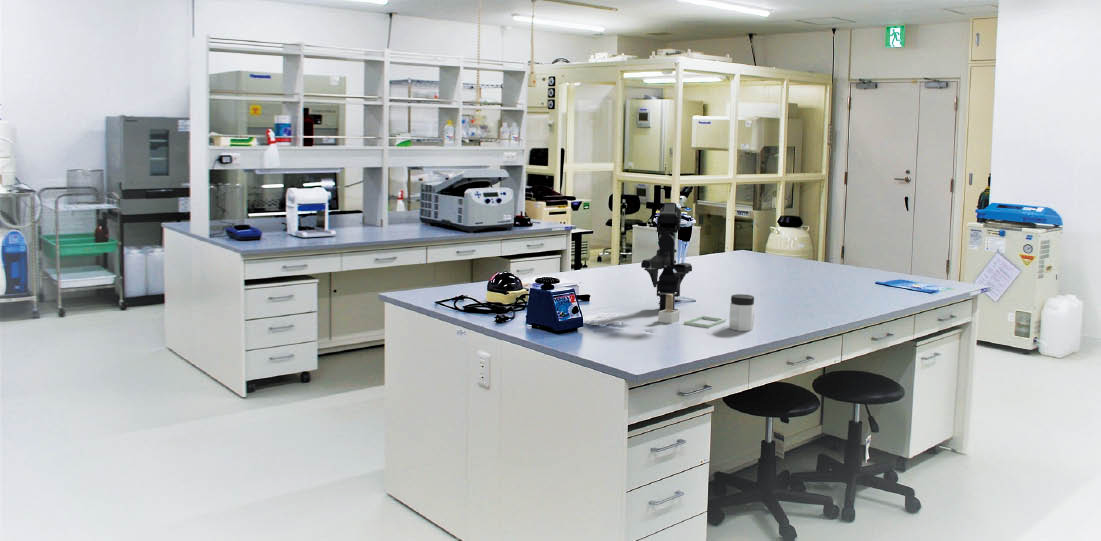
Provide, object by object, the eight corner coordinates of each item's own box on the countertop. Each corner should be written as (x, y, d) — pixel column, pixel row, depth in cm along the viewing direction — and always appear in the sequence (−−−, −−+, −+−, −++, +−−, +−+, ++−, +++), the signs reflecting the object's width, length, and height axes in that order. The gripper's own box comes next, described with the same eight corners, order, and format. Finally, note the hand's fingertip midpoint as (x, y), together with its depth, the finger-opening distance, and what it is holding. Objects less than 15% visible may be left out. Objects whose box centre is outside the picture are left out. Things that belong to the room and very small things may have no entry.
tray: (701, 320, 338) (701, 315, 337) (725, 323, 332) (726, 319, 332) (684, 326, 327) (684, 321, 326) (708, 330, 321) (708, 325, 320)
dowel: (667, 320, 333) (668, 293, 332) (673, 321, 332) (674, 294, 330) (663, 321, 331) (664, 294, 330) (670, 322, 330) (670, 295, 328)
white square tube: (665, 321, 335) (666, 309, 335) (678, 323, 332) (679, 311, 331) (658, 323, 331) (658, 311, 330) (671, 325, 328) (671, 313, 327)
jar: (732, 325, 330) (734, 293, 328) (754, 327, 326) (756, 295, 324) (727, 329, 322) (728, 297, 320) (749, 332, 318) (751, 299, 316)
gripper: (633, 246, 327) (632, 288, 329) (677, 251, 315) (676, 295, 318) (649, 243, 335) (648, 284, 338) (693, 248, 324) (691, 290, 326)
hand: (665, 288), depth 330 cm, fingers open, 9 cm apart
